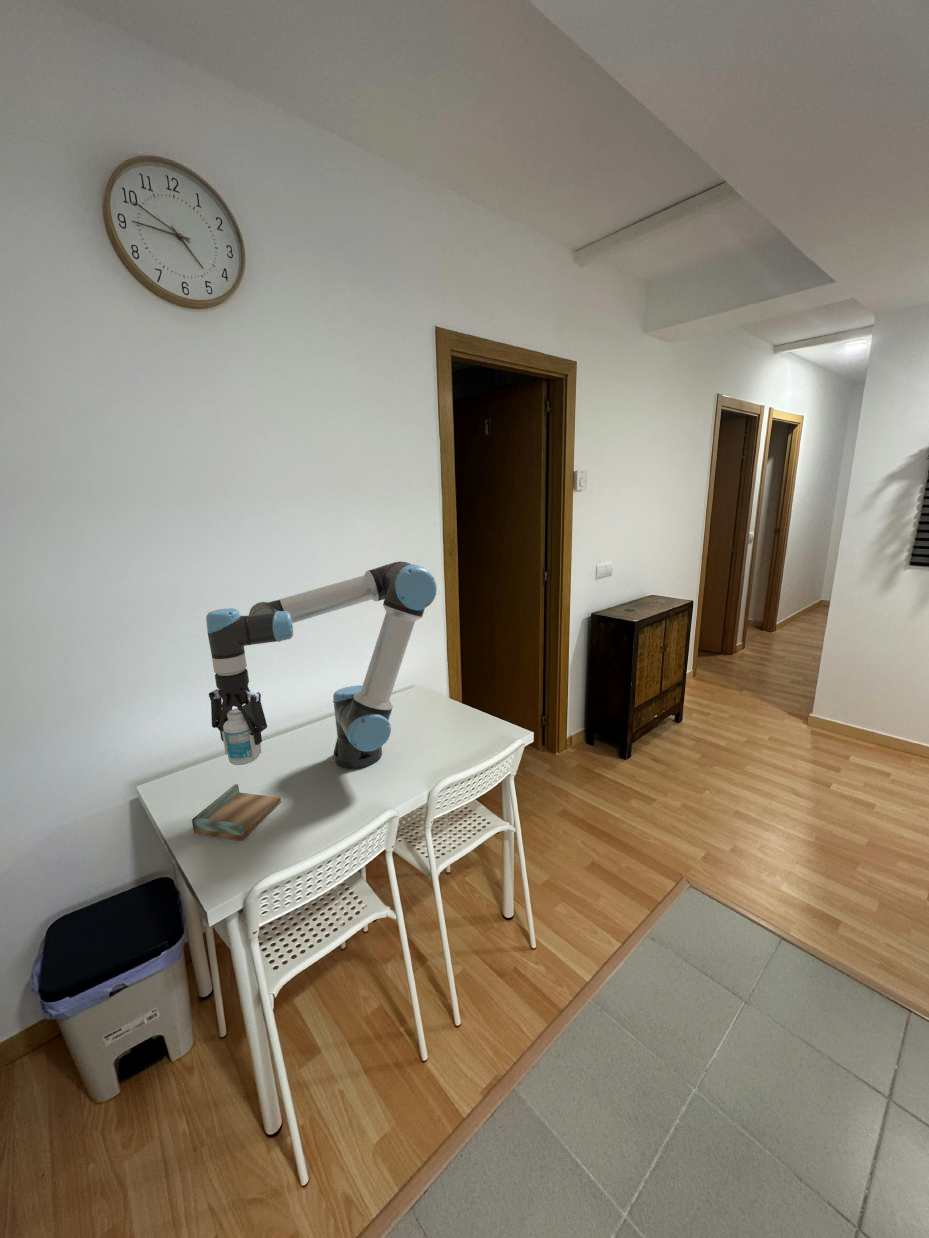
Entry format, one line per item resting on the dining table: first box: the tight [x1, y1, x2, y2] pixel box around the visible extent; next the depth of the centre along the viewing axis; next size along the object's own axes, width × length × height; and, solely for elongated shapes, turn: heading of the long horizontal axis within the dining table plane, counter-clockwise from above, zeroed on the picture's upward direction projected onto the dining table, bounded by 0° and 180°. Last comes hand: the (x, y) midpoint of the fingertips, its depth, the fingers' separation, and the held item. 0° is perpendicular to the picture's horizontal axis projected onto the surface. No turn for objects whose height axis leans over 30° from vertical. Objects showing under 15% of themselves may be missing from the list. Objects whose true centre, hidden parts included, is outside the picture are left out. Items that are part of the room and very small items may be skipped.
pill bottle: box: [223, 707, 260, 766], centre depth 129 cm, size 8×7×14 cm
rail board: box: [191, 783, 282, 842], centre depth 130 cm, size 14×16×4 cm
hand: (243, 753), depth 130 cm, fingers closed on pill bottle, 7 cm apart
